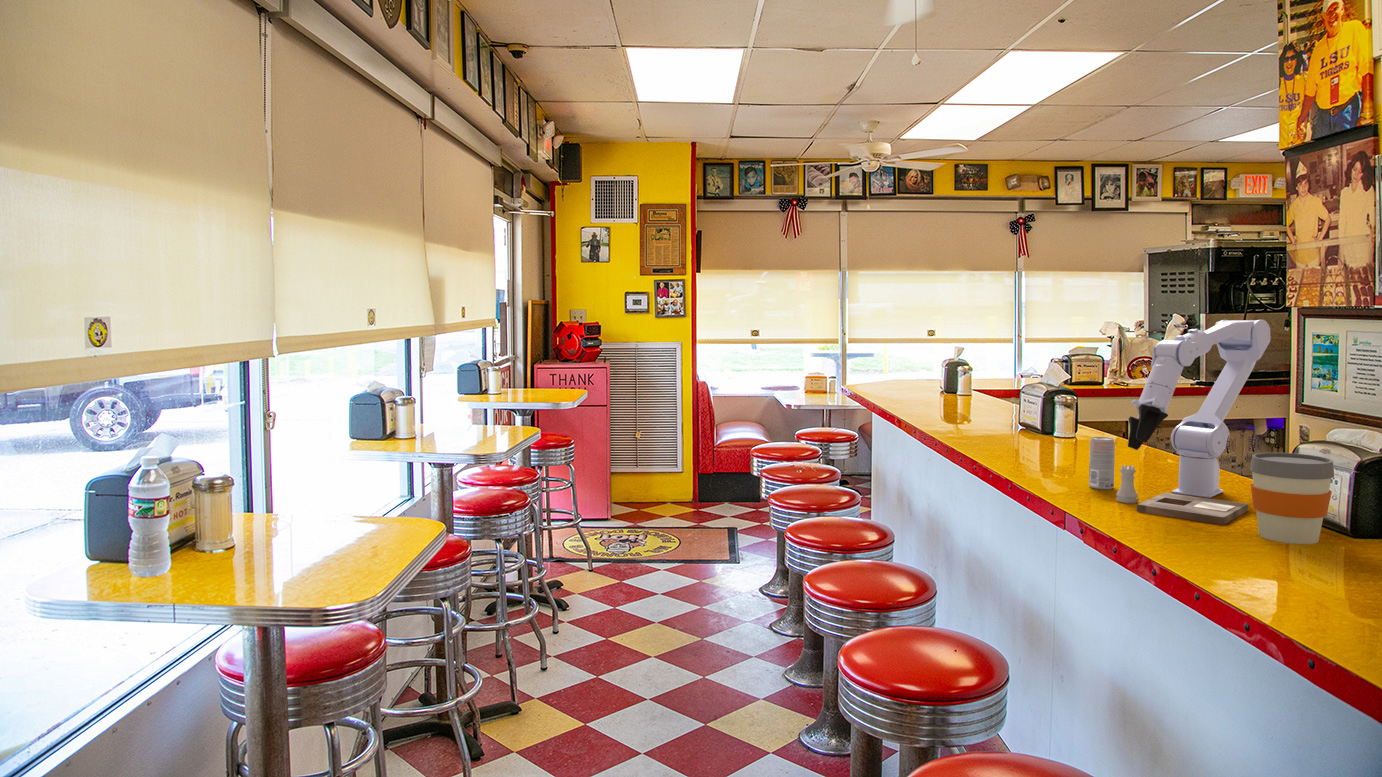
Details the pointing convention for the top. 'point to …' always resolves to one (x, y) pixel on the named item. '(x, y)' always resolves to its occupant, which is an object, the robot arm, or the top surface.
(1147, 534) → the top surface
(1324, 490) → the reusable coffee cup
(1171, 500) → the hole board
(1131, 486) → the rook chess piece
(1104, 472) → the energy drink
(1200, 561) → the top surface
